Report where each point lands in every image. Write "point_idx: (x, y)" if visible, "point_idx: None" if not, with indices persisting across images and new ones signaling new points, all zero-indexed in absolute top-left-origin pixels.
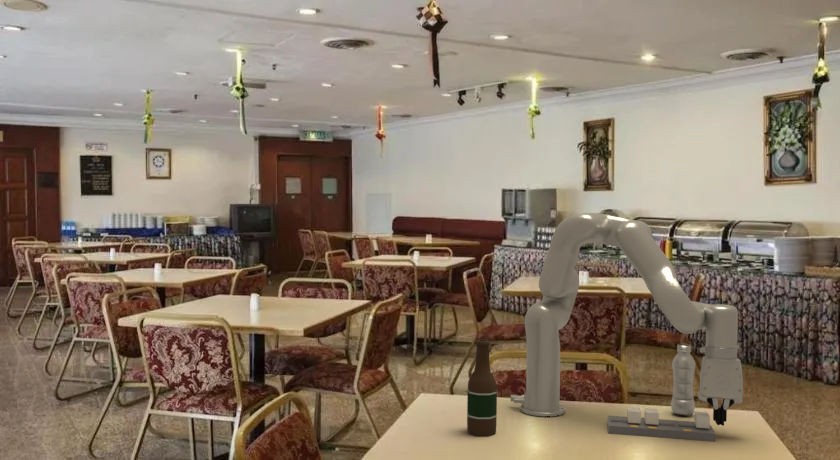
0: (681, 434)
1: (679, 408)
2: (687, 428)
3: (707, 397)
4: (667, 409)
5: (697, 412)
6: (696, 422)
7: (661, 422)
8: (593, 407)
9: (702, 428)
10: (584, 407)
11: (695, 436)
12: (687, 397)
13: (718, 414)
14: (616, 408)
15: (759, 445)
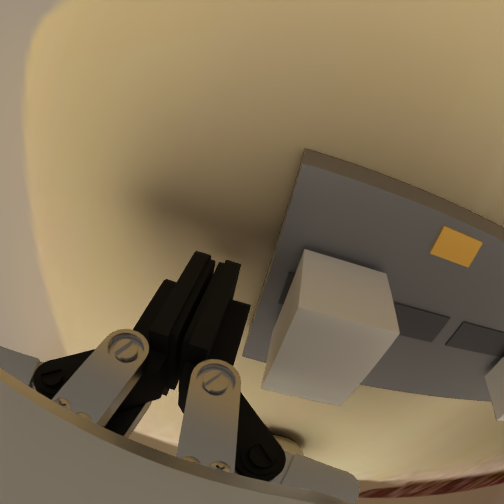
0: (486, 227)
1: None
2: (430, 282)
3: (314, 491)
4: None
5: (332, 393)
6: (391, 297)
7: (475, 364)
8: (463, 461)
9: None
10: (480, 458)
11: (421, 195)
12: None
13: (213, 315)
14: (420, 465)
15: (80, 97)
